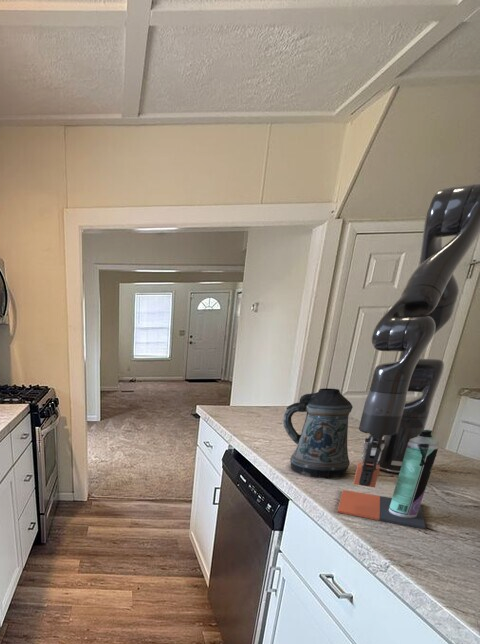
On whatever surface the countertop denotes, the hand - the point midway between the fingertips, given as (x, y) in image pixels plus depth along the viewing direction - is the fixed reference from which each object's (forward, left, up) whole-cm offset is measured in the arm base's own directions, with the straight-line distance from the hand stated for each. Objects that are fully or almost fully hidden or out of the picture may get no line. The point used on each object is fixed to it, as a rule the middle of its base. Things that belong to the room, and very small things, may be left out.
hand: (364, 481), depth 98 cm
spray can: (0, +9, -6) cm, 11 cm away
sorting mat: (-2, +5, -7) cm, 8 cm away
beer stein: (-26, -13, -7) cm, 30 cm away
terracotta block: (0, 0, 0) cm, 0 cm away
